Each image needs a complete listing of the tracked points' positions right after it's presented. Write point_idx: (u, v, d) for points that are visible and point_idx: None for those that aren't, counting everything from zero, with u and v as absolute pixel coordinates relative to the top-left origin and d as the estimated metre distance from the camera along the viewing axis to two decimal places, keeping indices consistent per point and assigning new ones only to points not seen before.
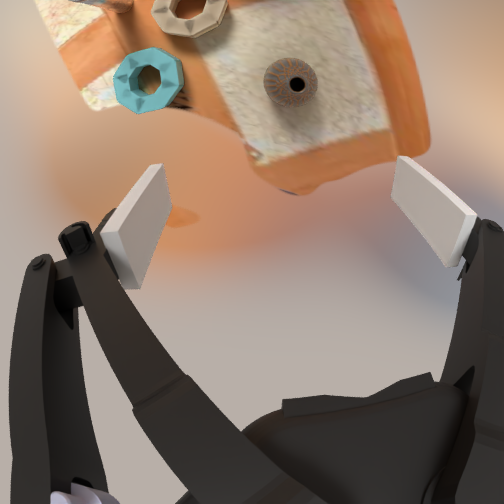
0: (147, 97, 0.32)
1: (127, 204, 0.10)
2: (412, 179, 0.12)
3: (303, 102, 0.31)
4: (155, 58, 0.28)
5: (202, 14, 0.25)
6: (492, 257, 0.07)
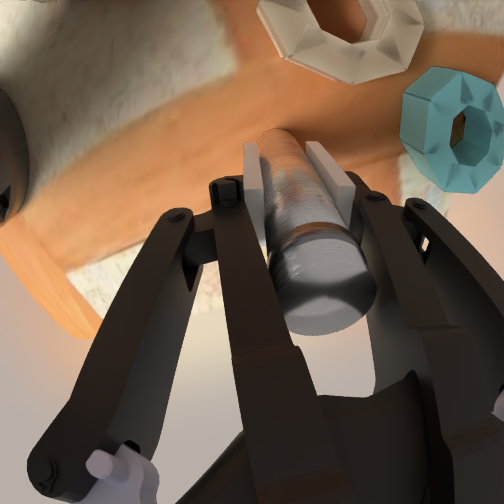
0: (492, 142, 0.14)
1: (252, 170, 0.12)
2: (312, 161, 0.14)
3: None
4: (449, 104, 0.13)
5: None
6: (386, 233, 0.08)
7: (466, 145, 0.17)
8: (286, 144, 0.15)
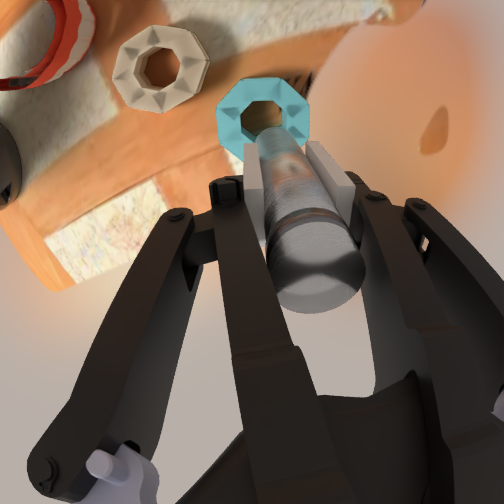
0: (288, 121, 0.26)
1: (252, 170, 0.12)
2: (312, 161, 0.14)
3: None
4: (233, 105, 0.25)
5: (175, 48, 0.21)
6: (386, 233, 0.08)
7: None
8: (284, 140, 0.15)
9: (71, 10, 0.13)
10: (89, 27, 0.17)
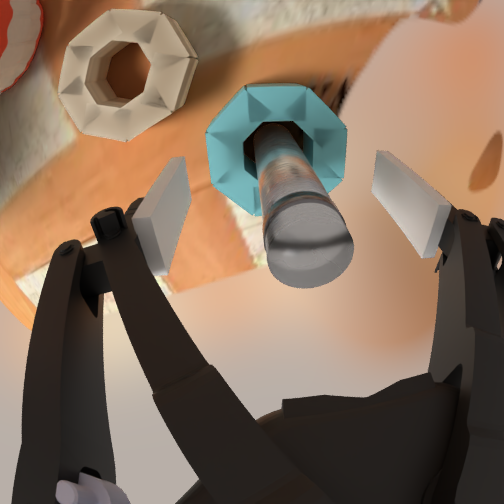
0: (316, 154, 0.18)
1: (155, 193, 0.11)
2: (390, 173, 0.13)
3: None
4: (232, 128, 0.16)
5: (142, 41, 0.12)
6: (470, 248, 0.07)
7: None
8: (280, 135, 0.16)
9: None
10: (27, 25, 0.09)
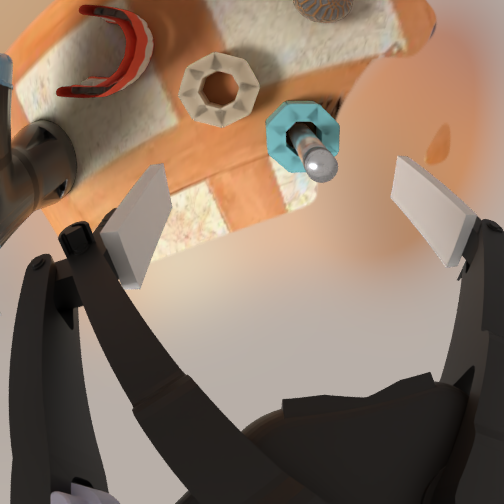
0: (323, 138, 0.33)
1: (127, 204, 0.10)
2: (412, 179, 0.12)
3: None
4: (281, 124, 0.32)
5: (234, 74, 0.28)
6: (492, 257, 0.07)
7: None
8: (305, 129, 0.32)
9: (139, 32, 0.21)
10: (151, 48, 0.25)
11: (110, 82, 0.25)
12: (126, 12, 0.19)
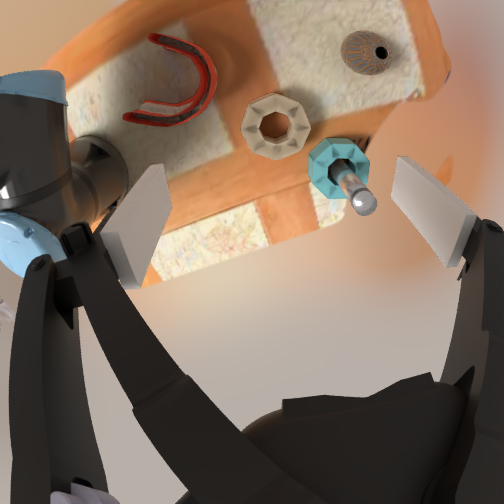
0: (356, 172, 0.40)
1: (127, 204, 0.10)
2: (412, 179, 0.12)
3: None
4: (325, 160, 0.39)
5: (290, 116, 0.35)
6: (492, 257, 0.07)
7: None
8: (344, 164, 0.39)
9: (212, 71, 0.28)
10: (216, 83, 0.32)
11: (179, 113, 0.32)
12: (199, 49, 0.26)
